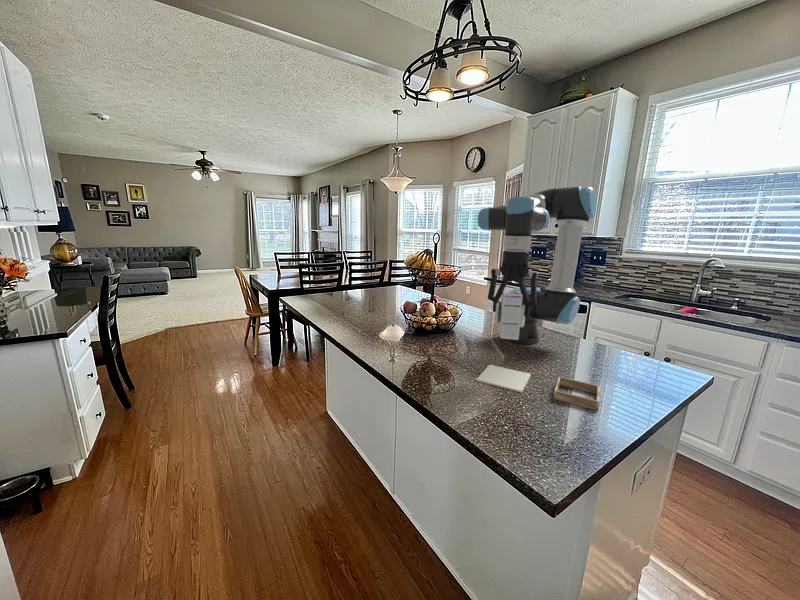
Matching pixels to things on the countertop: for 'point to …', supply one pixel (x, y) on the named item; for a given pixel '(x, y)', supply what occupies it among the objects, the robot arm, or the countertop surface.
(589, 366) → the countertop surface
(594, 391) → the corral
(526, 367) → the countertop surface
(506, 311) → the syrup box
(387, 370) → the countertop surface
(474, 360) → the countertop surface
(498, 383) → the board
